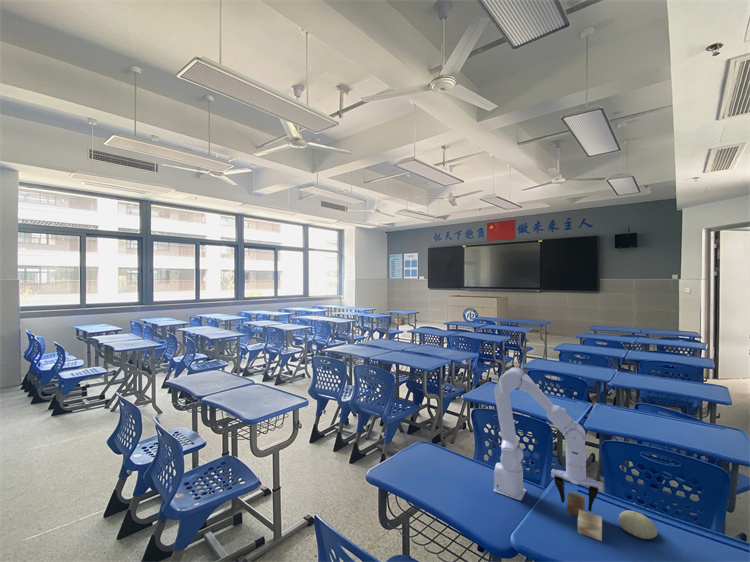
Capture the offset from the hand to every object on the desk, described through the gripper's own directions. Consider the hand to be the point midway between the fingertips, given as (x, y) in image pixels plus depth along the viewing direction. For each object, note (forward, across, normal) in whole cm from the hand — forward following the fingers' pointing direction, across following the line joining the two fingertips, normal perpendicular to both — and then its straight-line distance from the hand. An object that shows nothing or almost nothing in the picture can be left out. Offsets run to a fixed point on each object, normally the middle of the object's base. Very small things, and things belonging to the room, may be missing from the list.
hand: (576, 505), depth 113 cm
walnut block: (+2, 0, 0) cm, 2 cm away
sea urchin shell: (+3, +16, +1) cm, 16 cm away
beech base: (+2, +4, -8) cm, 9 cm away
